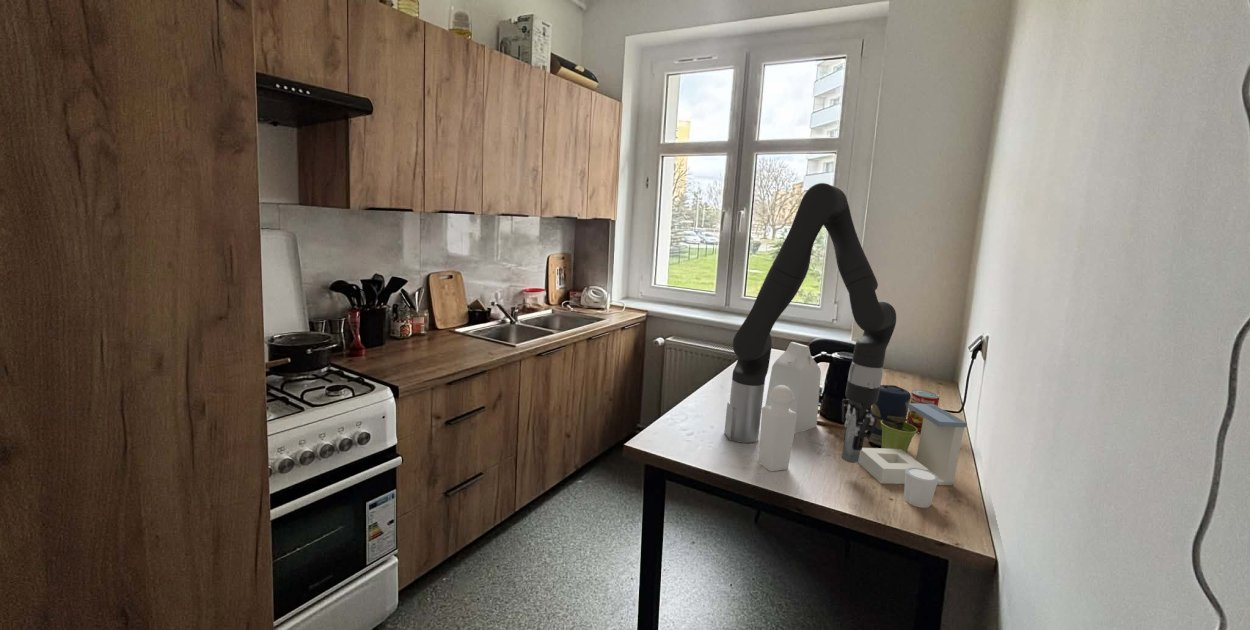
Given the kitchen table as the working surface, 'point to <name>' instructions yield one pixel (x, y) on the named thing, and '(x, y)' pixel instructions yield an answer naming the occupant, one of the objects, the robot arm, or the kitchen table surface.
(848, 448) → the peg
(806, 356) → the milk
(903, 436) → the plant pot
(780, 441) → the white square bottle
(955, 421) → the socket station
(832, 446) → the kitchen table surface
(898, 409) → the canister
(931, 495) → the white tapered cup
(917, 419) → the canned food
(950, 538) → the kitchen table surface
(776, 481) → the kitchen table surface
